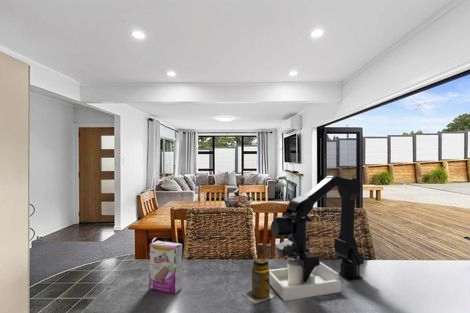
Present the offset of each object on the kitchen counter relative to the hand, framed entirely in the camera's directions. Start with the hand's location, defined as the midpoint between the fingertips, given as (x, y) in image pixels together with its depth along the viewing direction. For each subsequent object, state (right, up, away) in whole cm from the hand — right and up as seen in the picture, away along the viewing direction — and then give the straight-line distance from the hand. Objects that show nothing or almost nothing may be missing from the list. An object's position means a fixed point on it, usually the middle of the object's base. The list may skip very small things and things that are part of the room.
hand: (298, 276), depth 94 cm
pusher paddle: (+3, -3, +1) cm, 4 cm away
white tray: (+1, -4, 0) cm, 4 cm away
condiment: (-15, -4, -6) cm, 17 cm away
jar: (-1, -3, -1) cm, 3 cm away
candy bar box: (-49, -4, -2) cm, 49 cm away
